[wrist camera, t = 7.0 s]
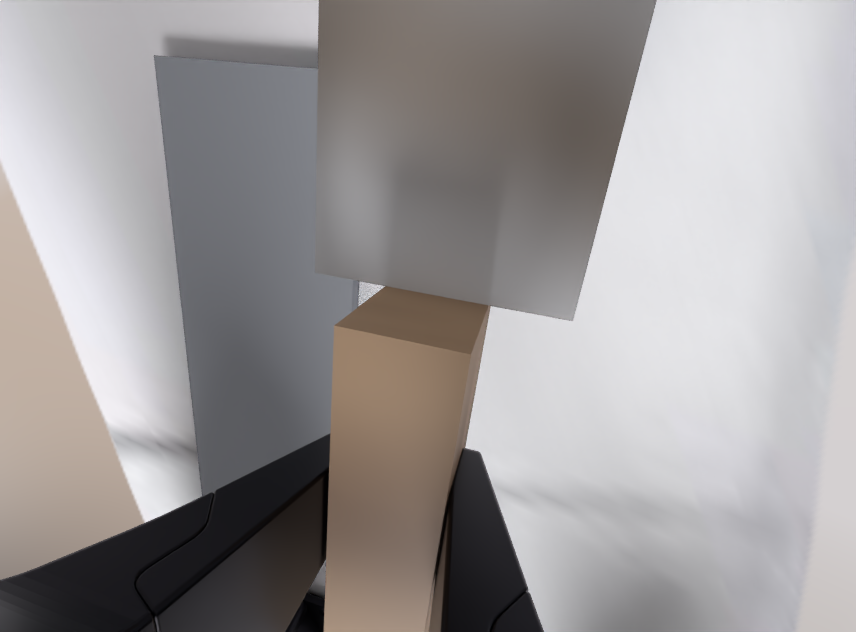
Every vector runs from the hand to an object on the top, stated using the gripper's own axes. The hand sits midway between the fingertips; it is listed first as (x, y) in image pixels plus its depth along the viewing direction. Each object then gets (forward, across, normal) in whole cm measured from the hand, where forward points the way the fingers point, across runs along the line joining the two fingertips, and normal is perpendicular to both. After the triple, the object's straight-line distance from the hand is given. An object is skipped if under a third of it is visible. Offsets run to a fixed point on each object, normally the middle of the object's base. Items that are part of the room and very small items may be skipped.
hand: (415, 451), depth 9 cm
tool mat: (+7, +9, +3) cm, 12 cm away
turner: (+1, 0, -2) cm, 2 cm away
